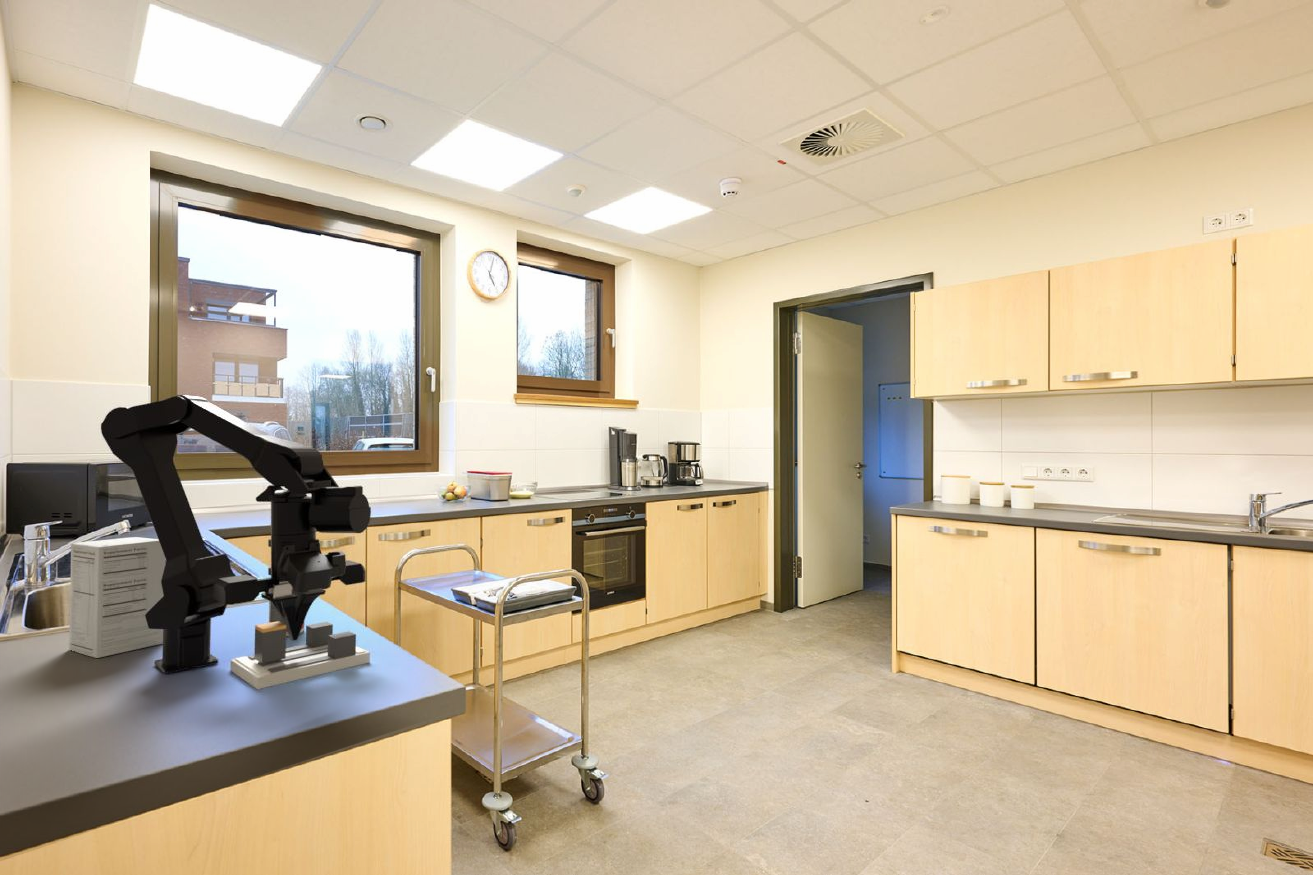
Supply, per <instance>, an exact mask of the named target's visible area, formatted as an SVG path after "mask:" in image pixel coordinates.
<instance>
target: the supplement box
mask: <svg viewBox="0 0 1313 875" xmlns="http://www.w3.org/2000/svg"><path fill="white" fill-rule="evenodd" d="M165 564H166V558H165V555H164V553H163V550H162V547H161V545H160V542H159V539H158V538H148V537H141V536H139V537H138V536H134V537H133V536H130V537H122V538H121V537H120V538H112V539H102V540H91V541H82V542H81V541H80V542H73V543H71V544H70V596H69V597H70V598H69V619H68V620H69V622H68V623H69V627H68V628H69V630H68V650H69V651H71V650H72V652H74V651H75V652H76V653H78V654H82V655H85V656H89V657H91V658H96V659H99V658H103V657H107V656H108V657H109V656H112V655H117V654H121V653H126V652H130V651H135V650H139V649H143V648H148V647H149V648H150V647H153V646H157V645H163V629H149V627H148V624H147V621H146V617H145V614H146V613H147V612H148V611H149V610H150V609H151V608H152V607H153V606H154V605H155V604H156V603H157V602H158V601H159V600H160V599H161V598H162V597H163V596H164V595H163V590H162V585H161V579H162V576H163V572H164V568H165Z"/></svg>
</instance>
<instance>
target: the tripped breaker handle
mask: <svg viewBox="0 0 1313 875" xmlns="http://www.w3.org/2000/svg"><path fill="white" fill-rule="evenodd" d="M286 645H287V636H286V625H285V624H283V623H281V622H279V621H277V622H271V623H269V622H265V623H261V624H255V625H254V652H253V655H254V659H256V660H257V661H259V662H261V663H266V662H271V661H275V660H280V659H285V658H286V647H287V646H286Z"/></svg>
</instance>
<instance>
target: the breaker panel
mask: <svg viewBox="0 0 1313 875" xmlns="http://www.w3.org/2000/svg"><path fill="white" fill-rule="evenodd" d="M333 628H334V624H332V623H330V622H329V621H323V622H318V623H312V624H306V625H305V644H300V645H296V646H291V647H287V648H286V658H285V659H280V660H275V661H271V662H266V663H261V662H259V661H257V660H256V659H254V654H251V655H248V656H246V655H245V656H240V657H236V658H232V659H230V670H229V671H231V672H232V673H234V674H235V675H236V676H238V677H239V678H241V679H242V680H244V681H245V682H246V683H247V684H249V685H251V686H252V687H253V688H254V689H257V690H259V689H264V688H269V687H271V686H277V685H281V684H285V683H290V682H292V681H293V682H294V681H298V680H302V679H305V678H311V677H315V676H318V675H323V674H327V673H331V672H335V671H340V670H343V669H348V668H352V667H356V666H361V665H364V664H368V663H370V662H371V657H370V656H371V652H370V651H368V650H366V649H364V648H361V647H359V646H357V640H356V639H357V634H356V633H353V632H351V631H349V630H348V631H344V632H338V633H333V630H334V629H333Z"/></svg>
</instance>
